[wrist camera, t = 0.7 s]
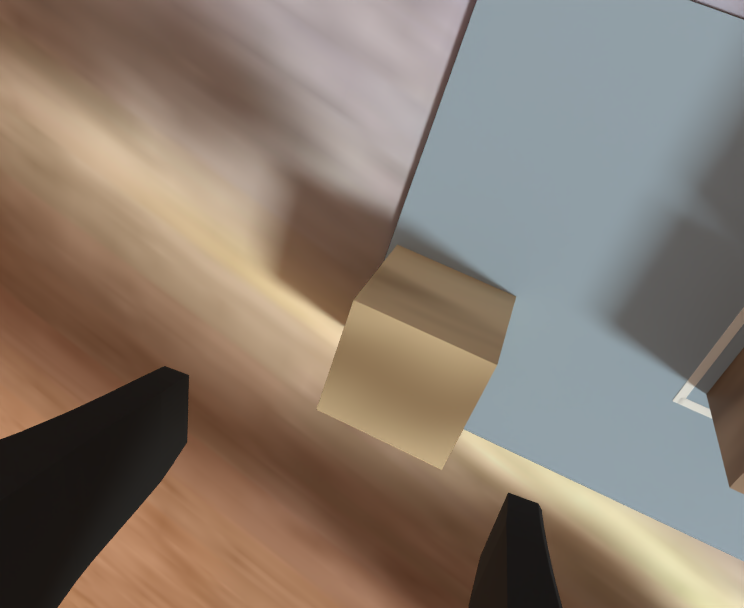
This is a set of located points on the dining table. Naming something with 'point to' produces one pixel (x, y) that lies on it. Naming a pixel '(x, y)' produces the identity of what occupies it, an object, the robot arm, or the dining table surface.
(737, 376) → the walnut block
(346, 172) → the dining table surface
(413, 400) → the oak block
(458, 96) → the blueprint mat
